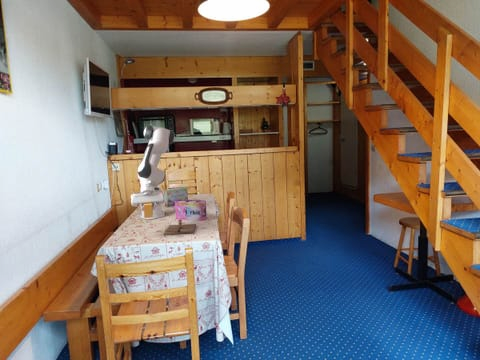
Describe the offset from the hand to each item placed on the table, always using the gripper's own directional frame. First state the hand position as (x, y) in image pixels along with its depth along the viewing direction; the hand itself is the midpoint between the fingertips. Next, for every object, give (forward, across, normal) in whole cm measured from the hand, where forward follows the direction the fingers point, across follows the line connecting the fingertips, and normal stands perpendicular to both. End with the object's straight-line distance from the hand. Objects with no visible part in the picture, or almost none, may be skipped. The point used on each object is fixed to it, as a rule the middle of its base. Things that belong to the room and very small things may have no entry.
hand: (148, 210), depth 198 cm
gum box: (-12, +28, +35) cm, 46 cm away
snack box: (-53, +21, +76) cm, 95 cm away
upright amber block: (+3, 0, +4) cm, 4 cm away
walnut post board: (+9, +19, +14) cm, 25 cm away
